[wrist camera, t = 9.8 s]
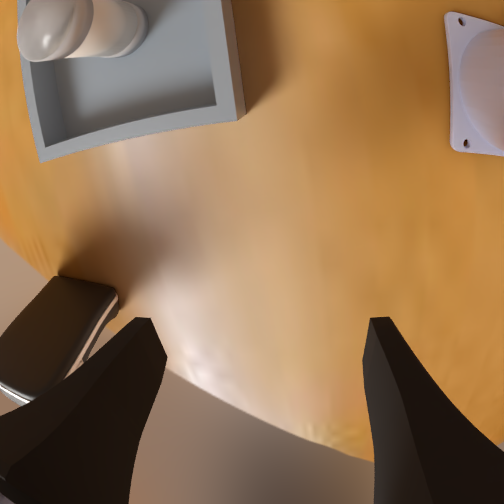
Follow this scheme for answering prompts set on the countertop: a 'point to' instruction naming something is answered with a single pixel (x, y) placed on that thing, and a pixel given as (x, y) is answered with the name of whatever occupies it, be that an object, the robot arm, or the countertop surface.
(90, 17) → the cylinder
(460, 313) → the countertop surface
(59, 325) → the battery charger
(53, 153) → the parts tray
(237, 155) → the countertop surface
